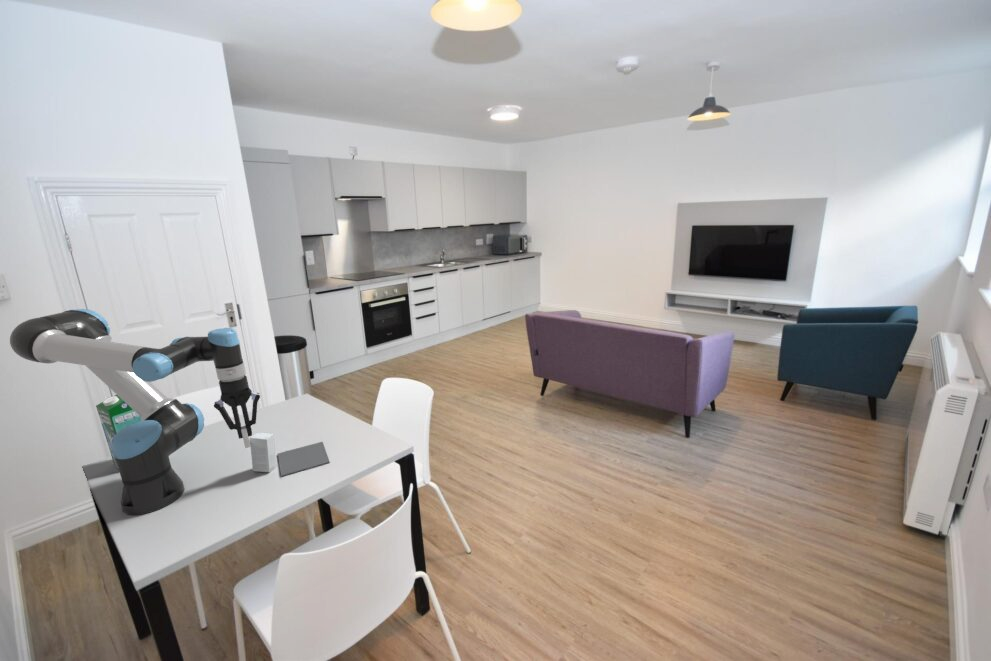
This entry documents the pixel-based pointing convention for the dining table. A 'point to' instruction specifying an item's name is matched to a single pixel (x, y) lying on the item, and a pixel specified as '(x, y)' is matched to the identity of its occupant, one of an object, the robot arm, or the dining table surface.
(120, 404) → the milk carton
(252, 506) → the dining table surface
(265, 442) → the skincare box
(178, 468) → the dining table surface
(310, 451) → the mat
